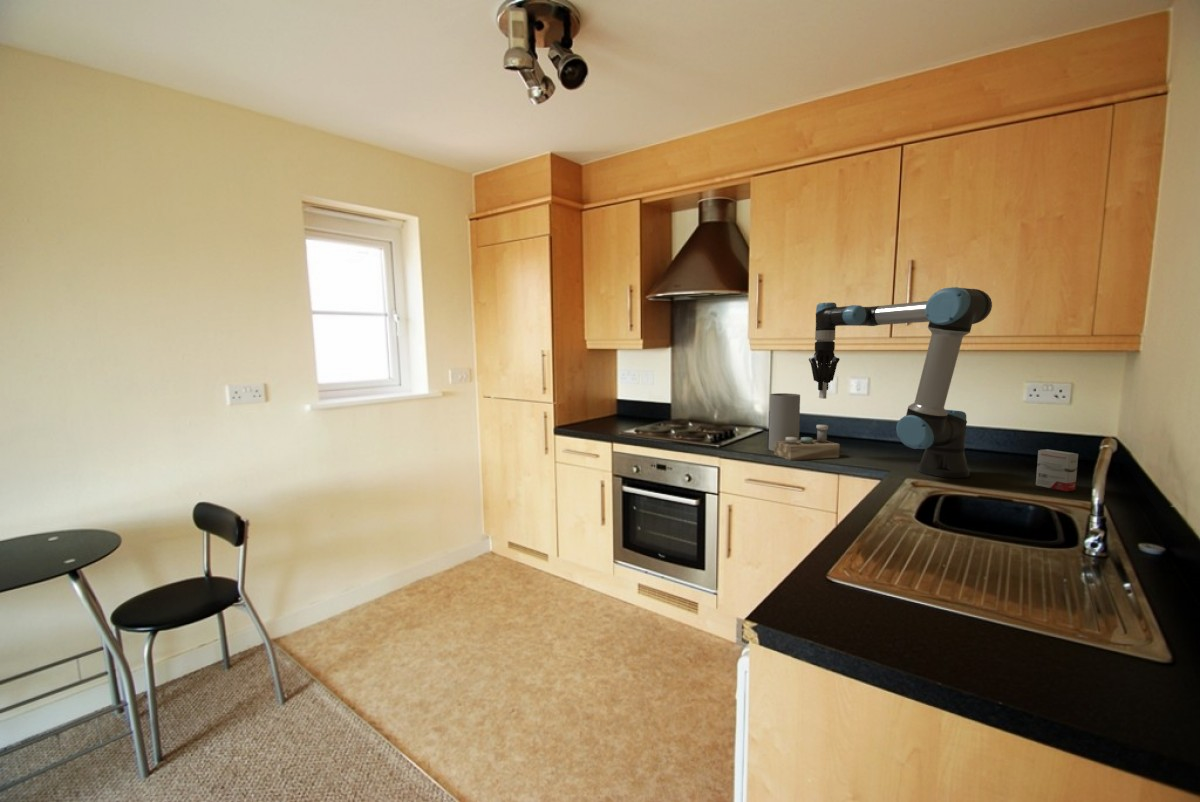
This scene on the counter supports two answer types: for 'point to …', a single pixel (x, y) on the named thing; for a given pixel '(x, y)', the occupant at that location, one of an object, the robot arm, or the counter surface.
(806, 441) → the knob middle
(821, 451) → the mount
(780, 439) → the cylinder vase
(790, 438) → the knob left
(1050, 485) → the ink box
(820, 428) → the knob right
